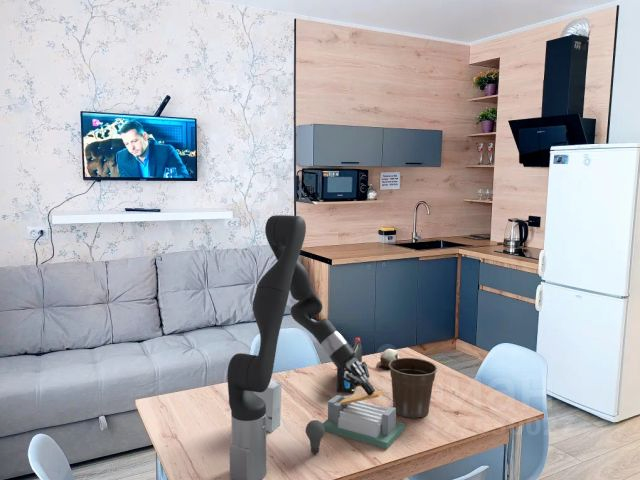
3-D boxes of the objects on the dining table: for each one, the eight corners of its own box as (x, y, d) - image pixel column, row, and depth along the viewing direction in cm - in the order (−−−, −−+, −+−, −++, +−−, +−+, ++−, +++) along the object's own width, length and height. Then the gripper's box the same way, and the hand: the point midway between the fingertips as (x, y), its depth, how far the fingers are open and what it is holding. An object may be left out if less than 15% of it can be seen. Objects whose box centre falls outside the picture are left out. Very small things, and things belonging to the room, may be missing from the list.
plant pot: (437, 403, 189) (438, 360, 187) (434, 424, 173) (435, 377, 171) (391, 398, 193) (392, 355, 191) (384, 418, 178) (385, 371, 176)
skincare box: (250, 427, 171) (249, 383, 169) (259, 419, 176) (259, 376, 174) (273, 433, 167) (272, 388, 165) (282, 425, 173) (282, 381, 171)
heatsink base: (387, 449, 158) (387, 422, 157) (321, 430, 169) (321, 404, 168) (404, 429, 170) (405, 404, 169) (342, 413, 181) (342, 389, 180)
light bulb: (319, 446, 159) (319, 415, 158) (328, 455, 154) (328, 423, 153) (302, 451, 156) (302, 419, 155) (311, 460, 152) (311, 427, 150)
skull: (386, 356, 234) (400, 343, 228) (400, 376, 229) (414, 363, 223) (368, 362, 226) (382, 348, 220) (382, 383, 221) (396, 370, 215)
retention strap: (339, 405, 171) (338, 403, 171) (344, 401, 174) (343, 399, 174) (378, 396, 163) (377, 394, 163) (383, 392, 166) (382, 390, 166)
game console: (352, 398, 193) (352, 359, 191) (334, 396, 195) (335, 358, 193) (363, 370, 220) (363, 336, 218) (347, 368, 222) (348, 334, 220)
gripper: (335, 348, 164) (371, 394, 159) (354, 336, 175) (388, 379, 170) (320, 361, 167) (355, 407, 162) (340, 349, 178) (373, 392, 174)
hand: (372, 393), depth 166 cm, fingers closed
